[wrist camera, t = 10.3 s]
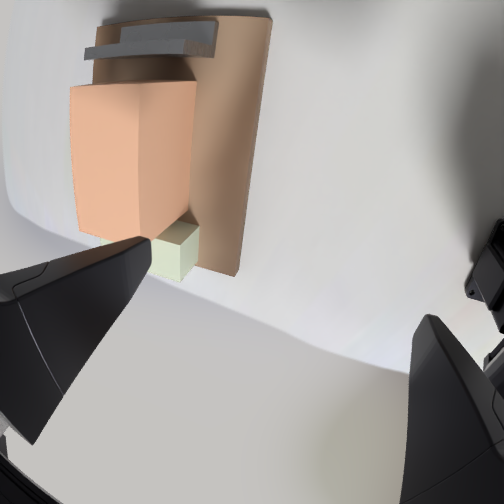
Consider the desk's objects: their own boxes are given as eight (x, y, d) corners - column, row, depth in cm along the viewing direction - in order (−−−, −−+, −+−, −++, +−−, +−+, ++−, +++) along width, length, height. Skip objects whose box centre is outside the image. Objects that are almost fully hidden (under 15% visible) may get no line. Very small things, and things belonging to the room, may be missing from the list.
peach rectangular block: (197, 81, 17) (140, 83, 12) (188, 210, 22) (141, 250, 17) (132, 79, 18) (70, 87, 13) (131, 197, 23) (79, 230, 18)
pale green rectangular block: (199, 225, 22) (180, 245, 20) (197, 260, 24) (180, 282, 22) (121, 206, 24) (97, 222, 21) (123, 239, 25) (102, 256, 23)
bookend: (219, 22, 15) (188, 10, 12) (214, 58, 16) (182, 53, 13) (126, 28, 16) (87, 24, 13) (123, 59, 18) (84, 60, 14)
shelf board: (272, 21, 15) (268, 17, 14) (238, 269, 25) (234, 276, 24) (105, 27, 17) (97, 27, 17) (105, 231, 27) (98, 235, 26)
